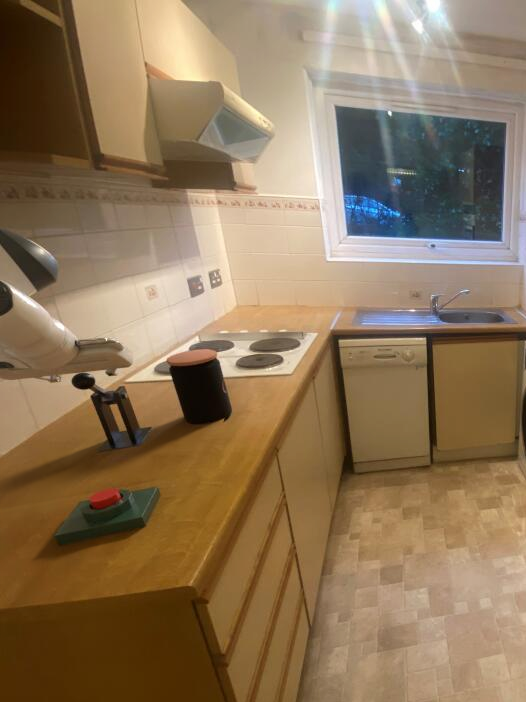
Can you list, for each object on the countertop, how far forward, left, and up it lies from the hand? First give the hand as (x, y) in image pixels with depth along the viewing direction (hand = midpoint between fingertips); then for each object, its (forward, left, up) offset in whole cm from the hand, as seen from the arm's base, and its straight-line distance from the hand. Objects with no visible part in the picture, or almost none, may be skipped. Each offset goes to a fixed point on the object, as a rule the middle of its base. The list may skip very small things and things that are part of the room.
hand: (85, 376), depth 92 cm
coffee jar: (+16, +14, -20) cm, 29 cm away
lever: (0, +1, -5) cm, 6 cm away
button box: (+7, -26, -20) cm, 34 cm away
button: (+7, -26, -16) cm, 32 cm away
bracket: (0, +7, -20) cm, 21 cm away
